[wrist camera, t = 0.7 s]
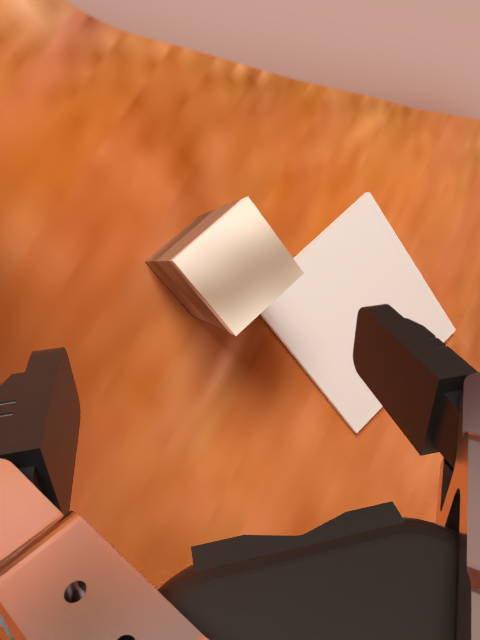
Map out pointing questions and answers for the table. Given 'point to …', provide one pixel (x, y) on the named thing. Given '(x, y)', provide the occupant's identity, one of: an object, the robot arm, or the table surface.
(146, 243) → the table surface
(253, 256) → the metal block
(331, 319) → the white mat
